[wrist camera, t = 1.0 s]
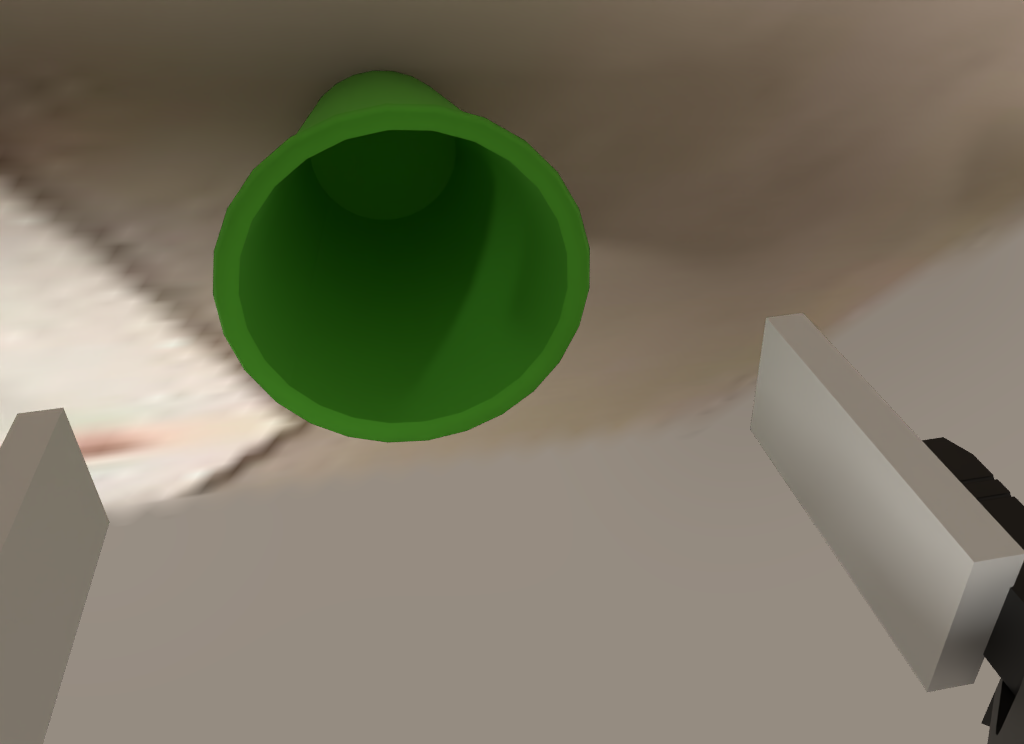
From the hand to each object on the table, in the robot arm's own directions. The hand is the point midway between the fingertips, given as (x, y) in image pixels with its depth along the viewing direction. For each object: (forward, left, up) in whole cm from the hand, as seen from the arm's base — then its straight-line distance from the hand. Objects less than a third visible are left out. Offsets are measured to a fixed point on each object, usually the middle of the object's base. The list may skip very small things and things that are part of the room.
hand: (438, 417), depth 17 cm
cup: (0, 0, -16) cm, 16 cm away
